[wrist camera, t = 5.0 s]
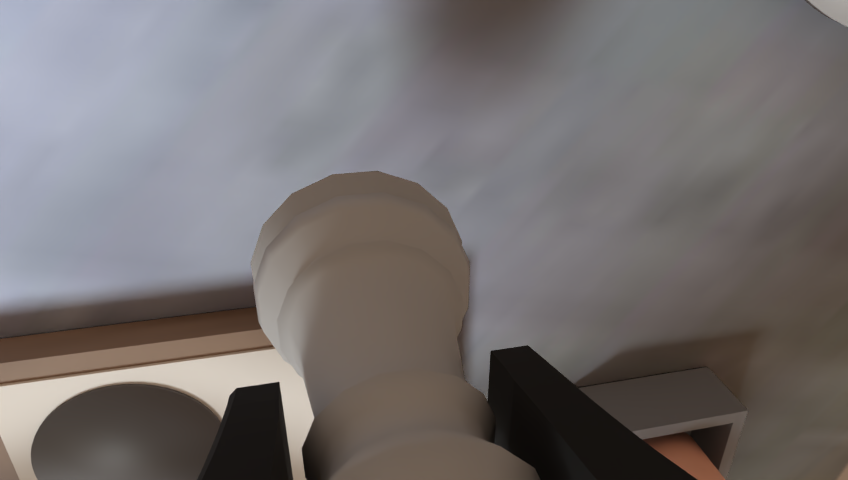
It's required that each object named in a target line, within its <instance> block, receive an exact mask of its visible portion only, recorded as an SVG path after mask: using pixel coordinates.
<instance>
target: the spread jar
mask: <svg viewBox="0 0 848 480" xmlns="http://www.w3.org/2000/svg"><path fill="white" fill-rule="evenodd" d="M805 1H806V2H807V3H808V4H809V5H810V6H812V7H813V8H814V9H816V10H817V11H818V12H820V13H821V14H823V15H825V16H826V17H828V18H830V19H832V20H834V21H836V22H838V23H840V24H842V25H844V26H847V27H848V0H805Z"/></svg>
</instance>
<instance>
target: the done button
mask: <svg viewBox="0 0 848 480" xmlns="http://www.w3.org/2000/svg"><path fill="white" fill-rule="evenodd" d="M643 441H645V442H646V443H647V444H649V445H650V446H651V447H653V448H654V449H655V450H657V451H658V452H659V453H661V454H662V455H664V456H665V457H666V458H668V459H669V460H671V461H672V462H673V463H675V464H676V465H678V466H679V467H680V468H682V469H683V470H685V471H686V472H687V473H689V474H690V475H692V476H693V477H695V478H696V479H697V480H725V479H724V477H723V476H722V475H721V473H720V472H719V471H718V470H717V468H716V467H715V466H714V465H713V463H712V462H711V461H710V459H709V458H708V457H707V456H706V454H705V453H704V452H703V451H702V449H701V448H700V447H699V445H698V444H697V443H696V442H695V440H694V439H693V438H692V437H691V436H690V435H688V434H687V433H685V432H681V433H675V434H670V435H664V436H659V437H654V438H648V439H643Z"/></svg>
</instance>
